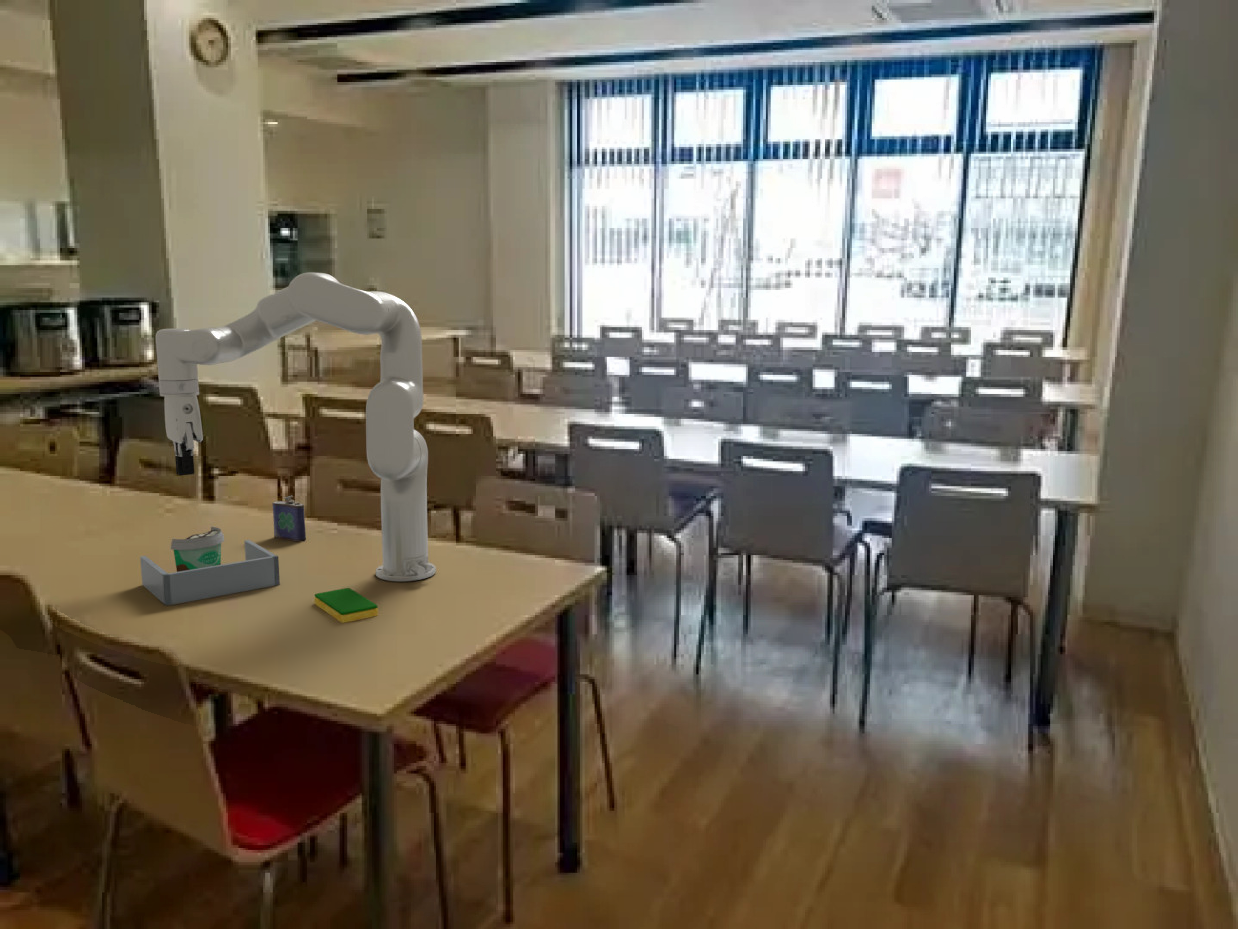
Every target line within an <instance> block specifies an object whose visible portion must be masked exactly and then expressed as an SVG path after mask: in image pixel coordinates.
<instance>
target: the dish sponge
mask: <svg viewBox="0 0 1238 929" xmlns="http://www.w3.org/2000/svg"><path fill="white" fill-rule="evenodd" d="M314 604H315V605H316V606H317V607H318V608H320V609H322V610H323V611H324V612H326V613H327V614H329V615H330V616H332V617H333V618H335V619H336V620H337V621H339V622H340V623H348V622H353V621H358V620H364V619H366V618H372V617H377V616H378V615H379V611H378V610H379V608H378V606H379V605H378V604H376V603H374V602H373V601H371V600H370V599H368V598H367V597H365V596H364V595H361V593H359V592H357V591H355V590H353V589H352V588H350V587H345V588H340V589H334V590H329V591H324V592H323V591H322V592H319V593H315V594H314Z"/></svg>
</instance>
